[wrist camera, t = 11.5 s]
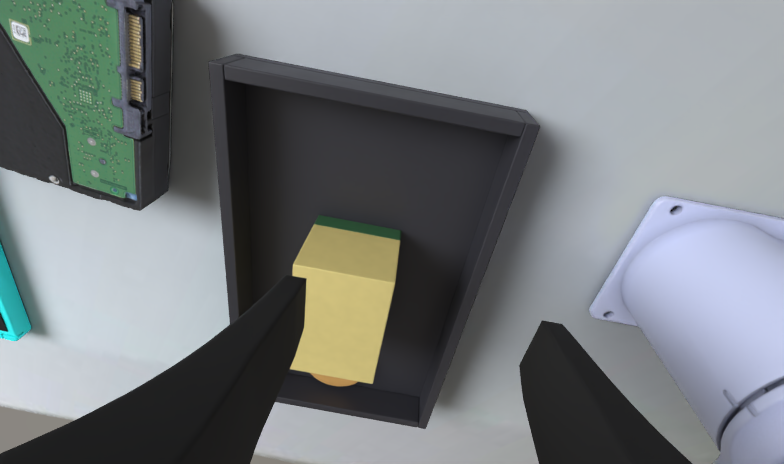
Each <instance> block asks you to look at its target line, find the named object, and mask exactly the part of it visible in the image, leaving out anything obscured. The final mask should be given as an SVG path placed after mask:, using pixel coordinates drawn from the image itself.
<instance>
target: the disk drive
mask: <svg viewBox="0 0 784 464" xmlns="http://www.w3.org/2000/svg"><path fill="white" fill-rule="evenodd" d="M172 33H173V3H172V0H0V167H3V168H5V169H7V170H12V171H15V172H17V173H20V174H23V175H27V176H29V177H33V178H37V179H38V180H41V181H45V182H47V183H54V184H56V185H59V186H62V187H65V188H69V189H71V190H73V191H76V192H78V193H81V194H85V195H87V196H90V197H93V198H96V199H101V200H106V201H111V202H112V203H116V204H118V205H121V206H124V207H127V208H132V209H134V210H139V211H140V210H142V209H143V208H145V207H146V206H148V205H149V204H151V203H152V202H154V201H155V200H157V199H158V198H159V197H160V196H162V195H163V194H164V193H166V192H167V191H168V188H169V186H168V176H169V168H170V151H171V150H170V140H171V91H172V56H173V55H172V50H173V47H172Z"/></svg>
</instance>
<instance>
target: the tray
mask: <svg viewBox="0 0 784 464" xmlns="http://www.w3.org/2000/svg"><path fill="white" fill-rule="evenodd" d="M209 75H210V87H211V99H212V111H213V123H214V135H215V147H216V159H217V172H218V184H219V196H220V208H221V220H222V232H223V244H224V256H225V269H226V281H227V293H228V305H229V317H230V324H232V323H233V322H234V321H235V320H237V319H238V318H239V317H240V316H241V315H242V314H244V313H245V312H246V311H247V310H248V309H249V308H250V307H252V306H253V305H254V304H255V303H256V302H257V301H258V300H259V299H261V298H262V297H263V296H264V295H265V294H266V293H267V292H268V291H269V290H270V289H271V288H272V287H273V286H274V285H275V284H277V283H278V282H279V281H280V280H281V279H282V278H283V277H284V276H286V275H290V276H293V264H294V262H295V260H296V258H297V256H298V254H299V252H300V250H301V248H302V246H303V244H304V242H305V240H306V238H307V237H308V235H309V233H310V231H311V229H312V227H313V225H314V223H315V221H316V219H317V218H318V216H319V215H322V216H327V217H333V218H338V219H343V220H348V221H354V222H359V223H364V224H370V225H375V226H380V227H385V228H391V229H396V230H401V240H400V249H399V257H398V266H397V274H396V282H395V287H394V292H393V296H392V301H391V305H390V310H389V314H388V319H387V323H386V327H385V332H384V336H383V341H382V345H381V350H380V354H379V359H378V363H377V368H376V372H375V376H374V381H373V384H369V383H364V382H357V383H355V384H353V385H350V386H332V385H328V384H325V383H323V382H321V381H319V380H317V379H316V378H315V377H314V376H313V375H312V374H311V373H309V372H303V371H298V370H292V369H289V371H288V374H287V376H286V378H285V380H284V383H283V385H282V387H281V389H280V392H279V394H278V396H277V398H276V400H275V402H279V403H285V404H290V405H296V406H301V407H307V408H312V409H318V410H323V411H329V412H334V413H340V414H346V415H351V416H357V417H362V418H368V419H373V420H379V421H384V422H390V423H395V424H401V425H407V426H412V427H417V426H418V428H423V429H426V427H427V424H428V421H429V419H430V416H431V413H432V411H433V408H434V406H435V403H436V400H437V398H438V395H439V392H440V390H441V387H442V384H443V382H444V379H445V377H446V374H447V371H448V369H449V366H450V363H451V361H452V358H453V355H454V353H455V350H456V348H457V345H458V342H459V340H460V337H461V334H462V332H463V329H464V326H465V324H466V321H467V319H468V316H469V313H470V311H471V308H472V305H473V303H474V300H475V297H476V295H477V292H478V290H479V287H480V284H481V282H482V279H483V276H484V274H485V271H486V268H487V266H488V263H489V261H490V258H491V255H492V253H493V250H494V247H495V245H496V242H497V239H498V237H499V234H500V232H501V229H502V226H503V224H504V221H505V218H506V216H507V213H508V210H509V208H510V205H511V203H512V200H513V197H514V195H515V192H516V189H517V187H518V184H519V181H520V179H521V176H522V174H523V171H524V168H525V166H526V163H527V160H528V158H529V155H530V152H531V150H532V147H533V145H534V142H535V139H536V137H537V134H538V131H539V129H540V125H539V124H538V123H537V122H536V121H535V120H534V119H533V118H532V116H531V115H530V114H529V113H528V112H527V111H526V110H523V109H518V108H513V107H508V106H503V105H497V104H492V103H487V102H482V101H477V100H472V99H467V98H462V97H457V96H451V95H446V94H441V93H436V92H431V91H426V90H421V89H416V88H410V87H405V86H400V85H395V84H390V83H385V82H380V81H375V80H369V79H364V78H359V77H354V76H349V75H344V74H339V73H334V72H329V71H323V70H318V69H313V68H308V67H303V66H298V65H293V64H288V63H282V62H277V61H272V60H267V59H262V58H257V57H252V56H247V55H241V54H235V55H231V56H227V57H224V58H220V59H216V60H212V61H209Z"/></svg>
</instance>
